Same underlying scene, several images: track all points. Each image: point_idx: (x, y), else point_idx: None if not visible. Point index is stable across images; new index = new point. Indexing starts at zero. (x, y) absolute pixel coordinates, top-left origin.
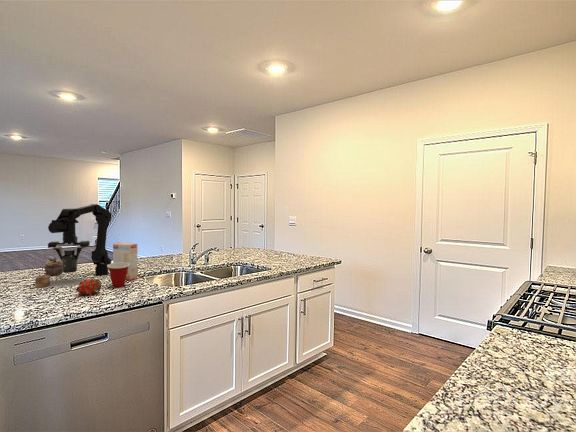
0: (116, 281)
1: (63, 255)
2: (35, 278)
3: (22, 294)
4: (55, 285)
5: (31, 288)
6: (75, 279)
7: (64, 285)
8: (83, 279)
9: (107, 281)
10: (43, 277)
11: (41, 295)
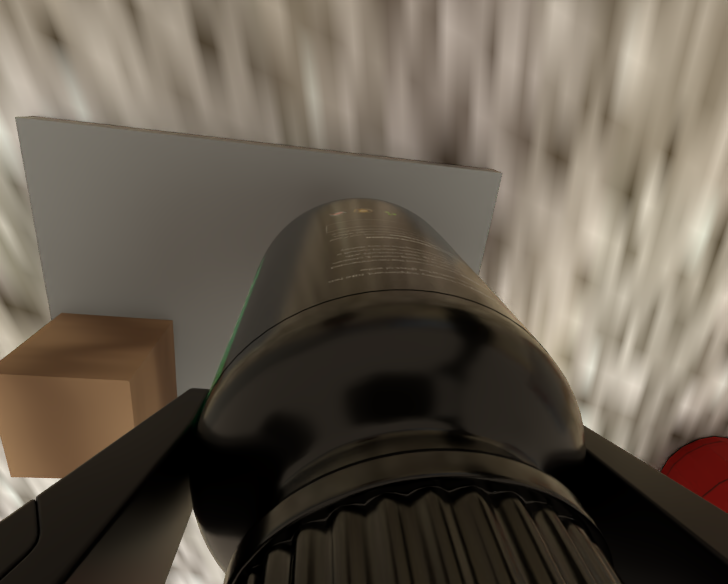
0: None
1: (220, 557)
2: (18, 473)
3: (45, 485)
4: None
5: (16, 313)
6: (404, 163)
7: None
8: (489, 203)
9: (684, 285)
10: None
11: (203, 542)
